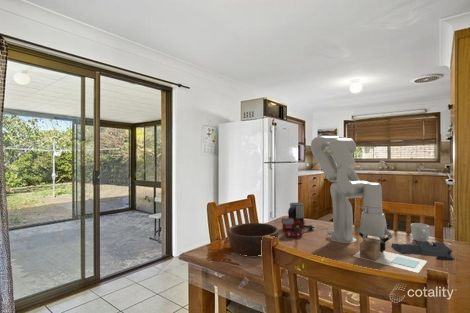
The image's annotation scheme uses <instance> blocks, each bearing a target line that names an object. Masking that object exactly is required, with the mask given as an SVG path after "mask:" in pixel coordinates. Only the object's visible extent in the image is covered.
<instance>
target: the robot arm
mask: <svg viewBox="0 0 470 313" xmlns="http://www.w3.org/2000/svg"><path fill="white" fill-rule="evenodd" d="M310 149H311V153H312V156H314V158H315V160H316V161H317V163H318V164H319V166H320V168H321V170H322V172H323V175H324V176H325V178H326V180H327V181H328V182H333V183H331V185H330V188H329V190H330V192H329V193H330V195H331V201H332V219H333V222H332V223H333V224H332V225H333V227H332V228H333V230H332V229H327V230H326V233H327V235H331V237H330V240H331V241H332V242H338V243H344V244H350V243H351V244H352V243H356V242H357V238H356V237H354V221H353V220H354V219H353V216H354V215H353V206H352V203H351V202H350V200H349V199H357V198H363V205H361V206H360V210H362V212H361V216H360V225H359V226H358V227H357V228H356V229H355V232H356V233H357V234H359V236H360V237H361V238H362V242H363V241H364V239H365V238H366V237H368V236H374V237H379V238H380V241H381V243H380V252H383V251H385V250H386V242H388V241H389V240H391V239H392V238H393V237H394V235H393V233H392V232H391V231H389V229H388V227H387V220H386V216H385V213H383V194H382V193H383V190H382V189H383V188H382V184H381V183H379V182H370V181H366V180H361V179H360V178H359V176H358V174H357V173H356V171H355V169H354V168H353V166H354V165H355V164H356V160H355V158H354V157H353V154H354V153H355V152H356V150H357V144H356V142H355V141H354V139H352V138H348V137H344V136H340V135H339V136H338V135H320V136H316V137H314V138H313V139H312V140H311V142H310ZM328 151H330V153H329V152H328ZM385 236H387V237H385Z"/></svg>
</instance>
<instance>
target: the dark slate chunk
mask: <svg viewBox="0 0 470 313" xmlns="http://www.w3.org/2000/svg"><path fill="white" fill-rule="evenodd" d="M415 243H416V244H412V243H411V244H410V243H408V244H407V243H394V242H392V243H391V247H392V249H393V250H394V251H396V252H397V253H398V254H400V255H415V256H425V257H435V260H440V261H441V260H442V261H454V260H456V258H455V257H453V256H451V254H452V252H453V251H452V249H451V248H449V246H447V245H445V243H444V242H439V241H437V242H436V241H435V242H432V243H429V242H428V241H426V242H420V241H416V242H415Z"/></svg>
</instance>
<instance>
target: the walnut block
mask: <svg viewBox="0 0 470 313" xmlns="http://www.w3.org/2000/svg"><path fill="white" fill-rule="evenodd" d="M359 251H360V258H359V259H362V258H364V259H363V260H366V259H368V260H367V261H370V260H372V261H371V262H374V261H376V260H377V259H378V258H380V243H377V242H372V241H367V240H364V241H363V240H362V241H361V242H360V243H359Z"/></svg>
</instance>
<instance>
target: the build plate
mask: <svg viewBox="0 0 470 313" xmlns="http://www.w3.org/2000/svg"><path fill="white" fill-rule="evenodd" d="M352 257H355V258H359V259H363V260H367V261H371V262H374V263H378V264H382V265H386V266H390V267H395V268H397V269H402V270H405V271H409V272H414V273H416V274H419V272H421V271H422V269H423V268H424V267H425V265H426V264H427V263H428V260H427V259H426V260H425V259H420V258H416V257H412V256H406V255H404V254H400V253H398V254H397V253H393V252H390V251H385V250H384V252H383V253H381V254H380V258H378V259H377V260H376V261H372V260H368V259H364V258H360V250H359V251H358V252H356V253H355V254H353V255H352Z"/></svg>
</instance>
